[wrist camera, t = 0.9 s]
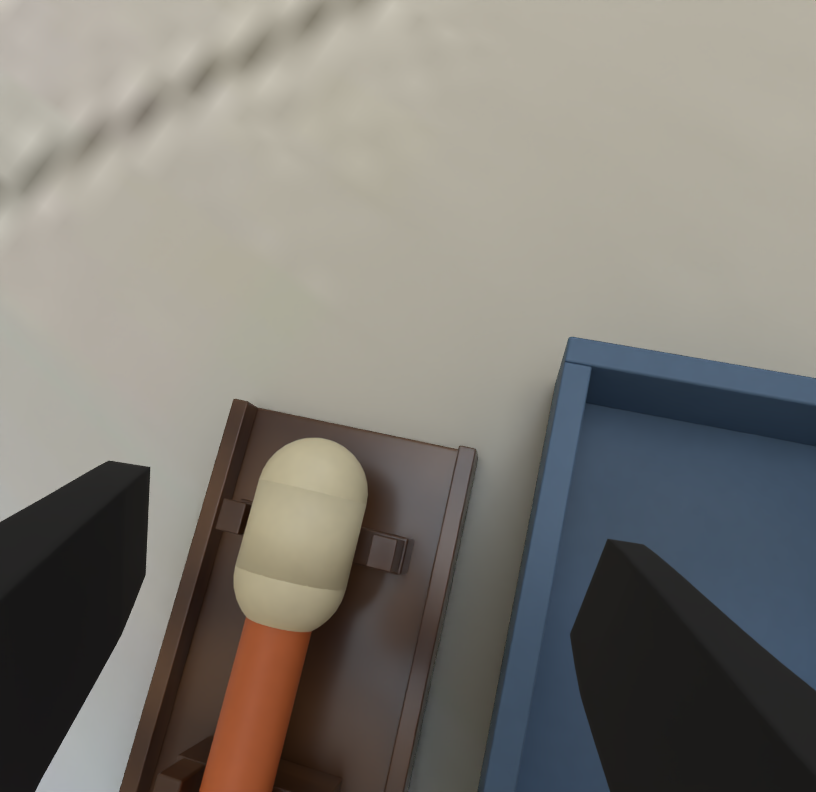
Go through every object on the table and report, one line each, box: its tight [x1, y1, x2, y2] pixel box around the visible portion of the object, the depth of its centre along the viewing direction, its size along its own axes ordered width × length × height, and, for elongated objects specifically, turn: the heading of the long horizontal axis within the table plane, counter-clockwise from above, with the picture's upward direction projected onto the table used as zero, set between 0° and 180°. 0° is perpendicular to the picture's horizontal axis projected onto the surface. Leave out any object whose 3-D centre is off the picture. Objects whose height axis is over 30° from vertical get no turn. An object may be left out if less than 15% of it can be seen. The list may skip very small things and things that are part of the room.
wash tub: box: [477, 337, 816, 792], centre depth 19 cm, size 17×12×5 cm
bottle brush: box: [199, 438, 368, 792], centre depth 20 cm, size 12×3×3 cm, turn 167°
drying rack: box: [119, 399, 478, 792], centre depth 21 cm, size 15×9×5 cm, turn 167°
